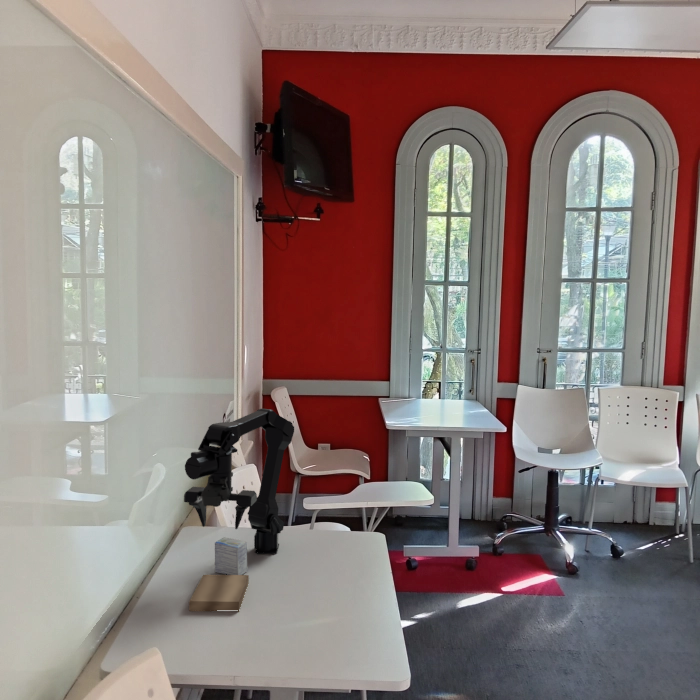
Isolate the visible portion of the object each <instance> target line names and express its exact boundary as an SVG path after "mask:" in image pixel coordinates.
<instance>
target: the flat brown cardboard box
mask: <svg viewBox="0 0 700 700" xmlns="http://www.w3.org/2000/svg"><path fill="white" fill-rule="evenodd" d="M249 579H250V578H249V574H242V575H226V574H203V575H202V576H201V578H200V580H199V581H198V584H197V585H196V587H195V590H194V591H193V593H192V595H191V597H190V599H189V601H188V603H189V604H188V607H189V608H188V610H189V612H212V611H217V610H238V611H239V609H240V610H241V608H242V605H241V604H243V602H244V599H245V596H246V593H247V590H248V588H247V587H249V585H248V584H249V583H250V582H249ZM246 589H247V590H246ZM245 592H246V593H245ZM244 595H245V596H244ZM243 598H244V599H243ZM242 601H243V602H242ZM240 607H241V608H240ZM239 612H240V611H239Z"/></svg>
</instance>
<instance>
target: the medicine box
mask: <svg viewBox="0 0 700 700" xmlns="http://www.w3.org/2000/svg"><path fill="white" fill-rule="evenodd" d="M247 543H248V542H247V541H244V540H239V539H236V538H231V537H230V538H229V537H226V536H223V537H221V538H220V539H218V540H217V541H215V542H214V572H215V573H218V574H221V575H226V574H227V575H245V573H247V571H248V544H247Z"/></svg>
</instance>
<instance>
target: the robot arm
mask: <svg viewBox="0 0 700 700" xmlns="http://www.w3.org/2000/svg"><path fill="white" fill-rule="evenodd" d="M259 428H261V429H263V430H264V432H265V433H264V439H265V442H266V445H267V450H266V456H265V462H264V467H263V471H262V476H261V482H260V487H259V493H258V494H257V492H256V491H255V490H246V489H242V490H241V491H240V492H239V493H233V490H234V489H233V488H234V487H233V486H232V478H233V475H234V472H233V471H232V470H233V467H232V464H233V463H232V462H233V461H232V458H233V457H232V456H233V454H234V453H238V449H237V448H236V447H235V446H234V445H235V444H237V443H238V442H239V441H240V439H241V437H242V436H244V435H246V434H248V433H250V432H253V431H255V430H257V429H259ZM294 433H295V426H294V425H293V423H292V421H291V420H288V419H286V418H285V417H283V416H281V415H279V414H278V413H276V411H274V410H273V409H267V408H259V409H257V410H256V411H254V412H252V413H248V414H247V415H245V416H242V417H240V418H237V419H235V420H232V421H224V422H223V421H222V422H221V421H220V422H215V423H213V424H210V425H209V426H208V428H207V431H206V433H205V434H204V436H203V438H202V441H201V442H200V444H199V446H198V448H197V450H198V451H192V452H190V456H189V457H188V458H187V460H186V461H185V464H184V470H185V474H186V475H187V477H188V478H189V479H191V480H198V479H201V478H204V477H207V478H208V479H207V483H206V486H205V487H203V486H192V487H191V488H189V489H188V490H186V491H184V495H183V503H187V504H188V505H189V506H190V507H191V506H192V507H193V508H194V509H195V510H196V513H197V514H198V518H199V520H200V523H201V526H202V527H203V528H204V527H205V526H206V525H207V524H206V523H207V507H210V506H211V507H215V508H216V507H217V508H218V507H220V506H221V504H222V502H228V501H231V502H232V501H233V502H235V503H236V506H235V507H234V508H235V521H234V528H235V530H238V528H239V526H240V523H241V521H242V518H243V516H244V513H245V512H246V510H247V509H248V508H249V509H248V512H247V520H248V522H249V524H250V527H251V529H252V530H255V534H254V537H253V538H254V539H253V541H254V544H253V545H254V546H253V548H254V550H255V551H254V553H255V554H265V555H267V554H272V555H273V554H274V555H275V554H277V553H278V550H279V547H280V543H279V534H281V532H282V531H283V530H284V527H285V526H284V525H285V522H284V521H283V520H282V519H281V518H280V517H279V505H278V503H277V499H276V496H277V490H278V485H279V481H280V475H281V470H282V465H283V459H284V453H285V450H286V449H287V448H288V447H289V446H290V444H291V443H292V440H293V437H294Z"/></svg>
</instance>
